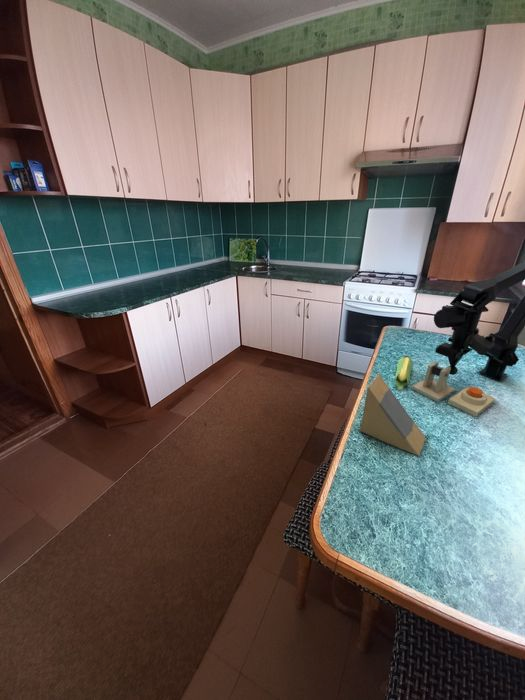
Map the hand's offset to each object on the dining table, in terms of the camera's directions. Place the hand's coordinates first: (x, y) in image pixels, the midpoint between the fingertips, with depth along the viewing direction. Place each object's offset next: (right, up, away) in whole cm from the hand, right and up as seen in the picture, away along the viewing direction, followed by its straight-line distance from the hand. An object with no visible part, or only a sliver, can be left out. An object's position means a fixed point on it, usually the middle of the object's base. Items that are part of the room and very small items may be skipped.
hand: (452, 366), depth 99 cm
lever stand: (-8, -8, -2) cm, 11 cm away
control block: (0, -11, -9) cm, 14 cm away
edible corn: (-15, -4, +6) cm, 16 cm away
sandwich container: (-30, -18, -20) cm, 40 cm away
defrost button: (0, -8, -10) cm, 13 cm away
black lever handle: (-4, -3, -2) cm, 5 cm away
